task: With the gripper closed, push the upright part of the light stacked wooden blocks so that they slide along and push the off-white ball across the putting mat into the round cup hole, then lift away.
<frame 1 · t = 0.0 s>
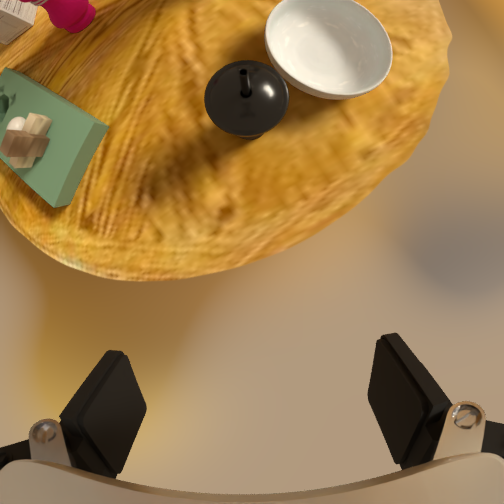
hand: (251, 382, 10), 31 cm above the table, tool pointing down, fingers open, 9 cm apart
pepper mill: (82, 19, 30), on the table
cereal bowl: (321, 57, 33), on the table
ball: (17, 128, 29), point 6 cm above the table, touching putting mat
putting mat: (36, 128, 36), on the table
drinking cup: (249, 123, 36), on the table
supplement box: (23, 21, 28), on the table
stacked wooden blocks: (23, 142, 28), point 9 cm above the table, slide at 0.0 cm
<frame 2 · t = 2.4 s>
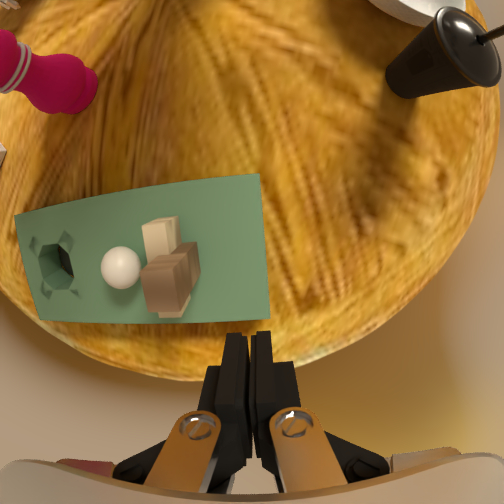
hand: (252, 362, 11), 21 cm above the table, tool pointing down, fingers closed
pepper mill: (79, 91, 26), on the table
ball: (121, 267, 25), point 6 cm above the table, touching putting mat
putting mat: (133, 251, 31), on the table
drinking cup: (402, 81, 26), on the table
stacked wooden blocks: (169, 272, 22), point 9 cm above the table, slide at 0.0 cm
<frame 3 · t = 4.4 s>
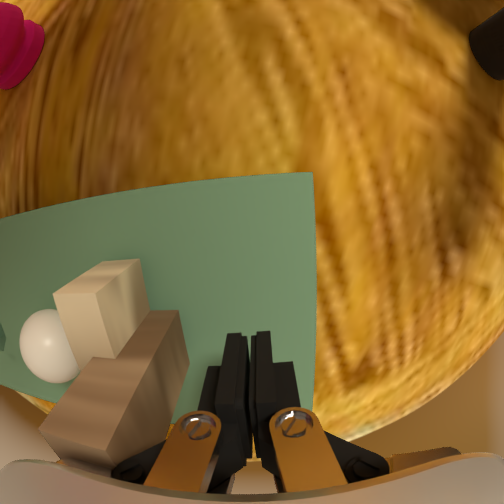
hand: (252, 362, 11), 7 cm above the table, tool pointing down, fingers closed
pepper mill: (21, 57, 13), on the table
ball: (52, 346, 12), point 6 cm above the table, touching putting mat
putting mat: (87, 299, 18), on the table
drinking cup: (487, 55, 13), on the table
stacked wooden blocks: (120, 389, 9), point 9 cm above the table, slide at 0.1 cm, touching gripper
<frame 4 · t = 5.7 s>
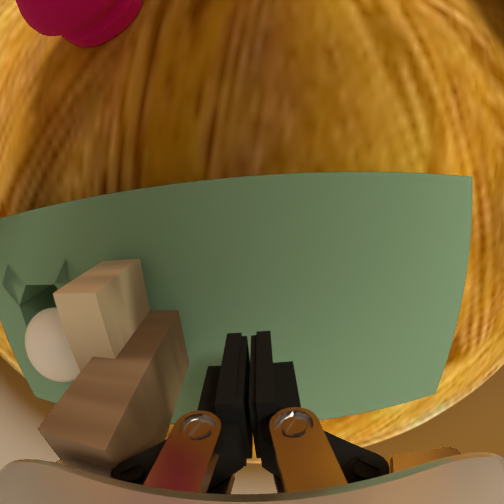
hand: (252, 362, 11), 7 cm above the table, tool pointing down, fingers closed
pepper mill: (105, 14, 13), on the table
ball: (58, 345, 12), point 6 cm above the table, tilted 116°, touching putting mat
putting mat: (204, 296, 18), on the table
stacked wooden blocks: (120, 389, 9), point 9 cm above the table, slide at 9.1 cm, touching gripper
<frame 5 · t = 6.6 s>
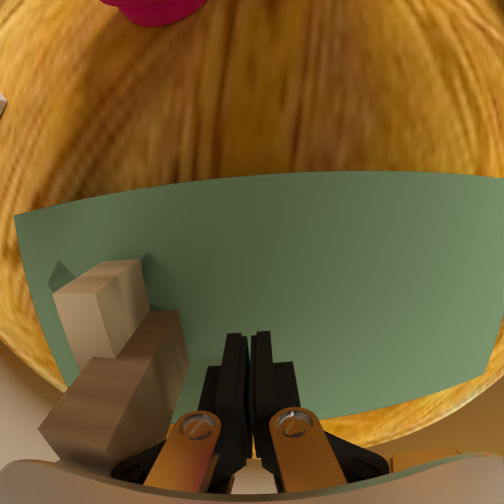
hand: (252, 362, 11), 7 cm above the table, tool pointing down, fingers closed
putting mat: (283, 291, 18), on the table
stacked wooden blocks: (120, 389, 9), point 9 cm above the table, slide at 14.0 cm, touching gripper
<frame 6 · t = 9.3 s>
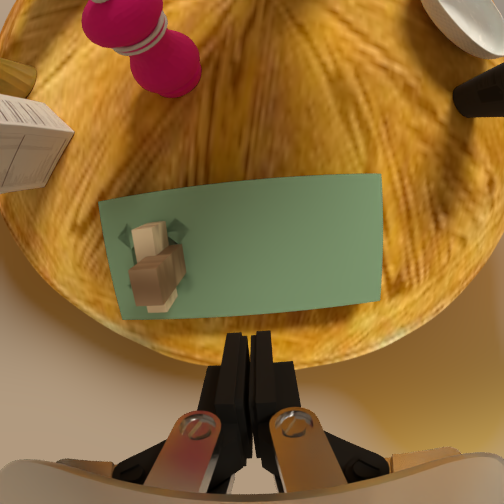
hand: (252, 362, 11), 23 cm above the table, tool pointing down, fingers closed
pepper mill: (176, 75, 28), on the table
cereal bowl: (449, 21, 24), on the table
putting mat: (243, 242, 33), on the table
vase: (25, 83, 27), on the table
drinking cup: (463, 102, 28), on the table
supplement box: (43, 144, 30), on the table
stacked wooden blocks: (155, 272, 25), point 9 cm above the table, slide at 14.6 cm
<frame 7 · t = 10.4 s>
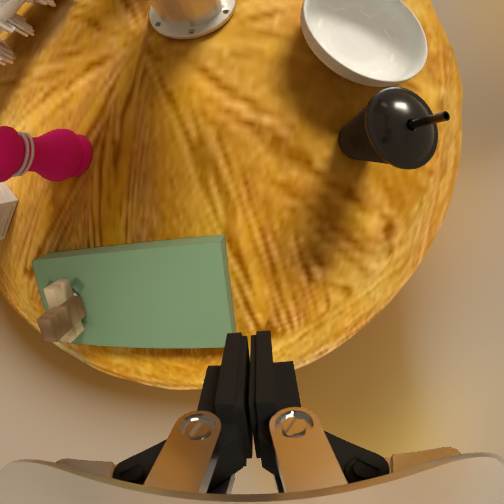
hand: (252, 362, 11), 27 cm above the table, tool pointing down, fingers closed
pepper mill: (77, 155, 35), on the table
cereal bowl: (353, 44, 30), on the table
putting mat: (130, 290, 39), on the table
drinking cup: (355, 141, 34), on the table
supplement box: (0, 205, 36), on the table
stacked wooden blocks: (60, 316, 31), point 9 cm above the table, slide at 14.6 cm
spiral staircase: (40, 16, 27), on the table
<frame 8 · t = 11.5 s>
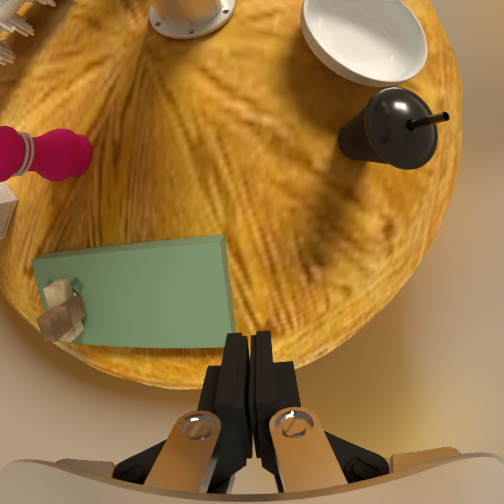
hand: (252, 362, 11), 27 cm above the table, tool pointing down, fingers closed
pepper mill: (76, 155, 35), on the table
cereal bowl: (353, 44, 30), on the table
putting mat: (130, 290, 39), on the table
drinking cup: (355, 142, 34), on the table
supplement box: (0, 205, 36), on the table
stacked wooden blocks: (60, 316, 31), point 9 cm above the table, slide at 14.6 cm
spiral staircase: (40, 16, 27), on the table
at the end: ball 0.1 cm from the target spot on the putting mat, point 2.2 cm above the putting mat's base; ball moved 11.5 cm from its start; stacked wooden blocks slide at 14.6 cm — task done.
